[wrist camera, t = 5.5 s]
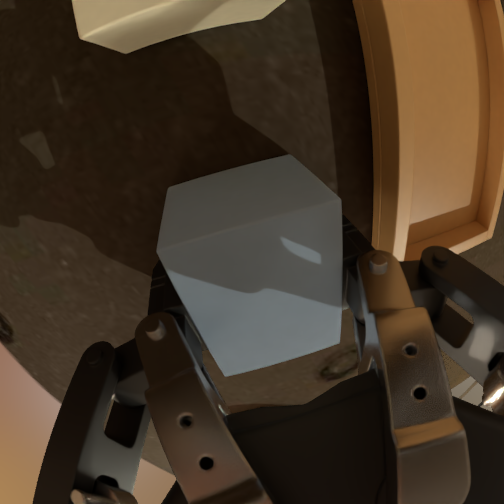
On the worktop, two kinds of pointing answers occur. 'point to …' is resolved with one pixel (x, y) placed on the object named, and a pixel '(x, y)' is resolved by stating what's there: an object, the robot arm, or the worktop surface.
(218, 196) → the pad
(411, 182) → the frame
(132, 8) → the pad
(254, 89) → the worktop surface
